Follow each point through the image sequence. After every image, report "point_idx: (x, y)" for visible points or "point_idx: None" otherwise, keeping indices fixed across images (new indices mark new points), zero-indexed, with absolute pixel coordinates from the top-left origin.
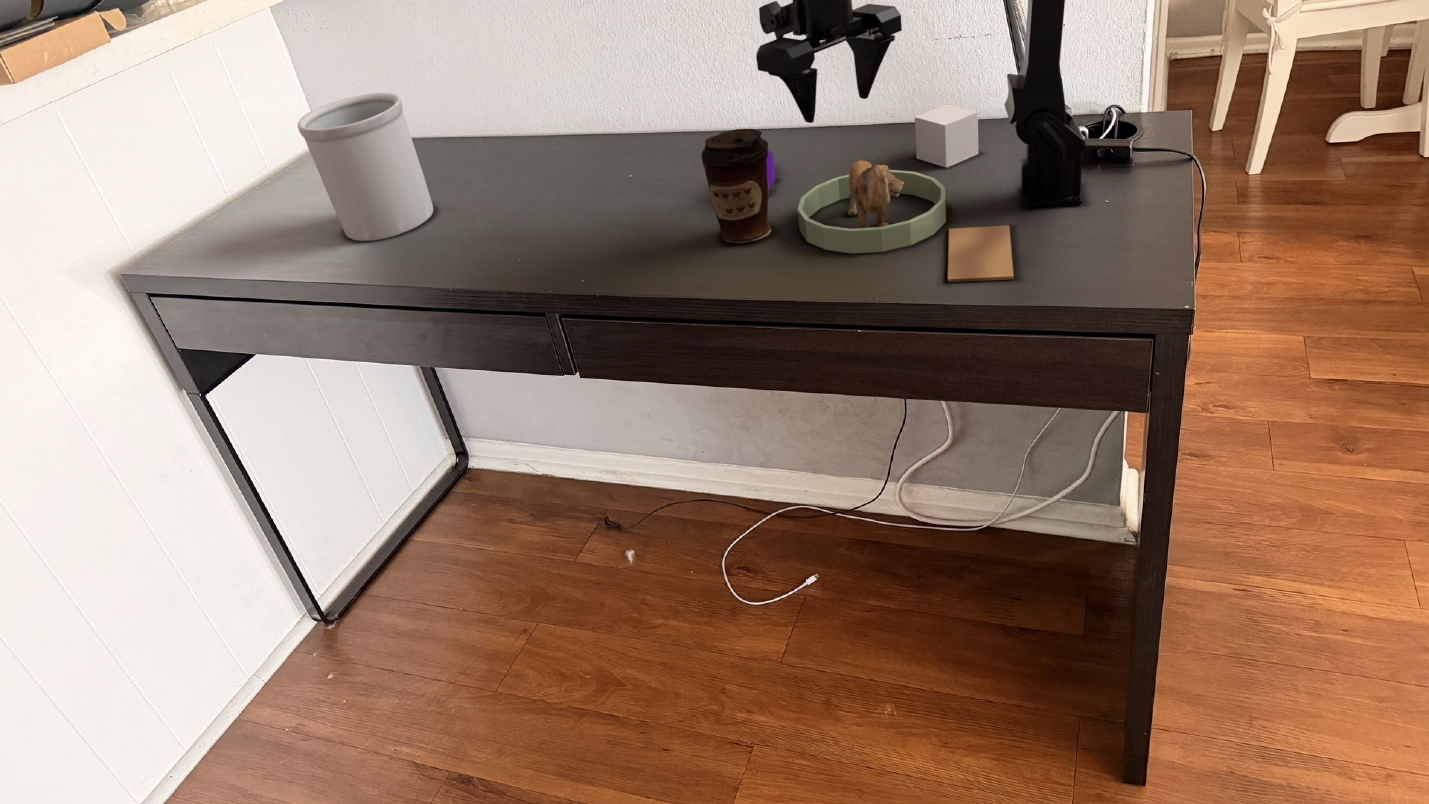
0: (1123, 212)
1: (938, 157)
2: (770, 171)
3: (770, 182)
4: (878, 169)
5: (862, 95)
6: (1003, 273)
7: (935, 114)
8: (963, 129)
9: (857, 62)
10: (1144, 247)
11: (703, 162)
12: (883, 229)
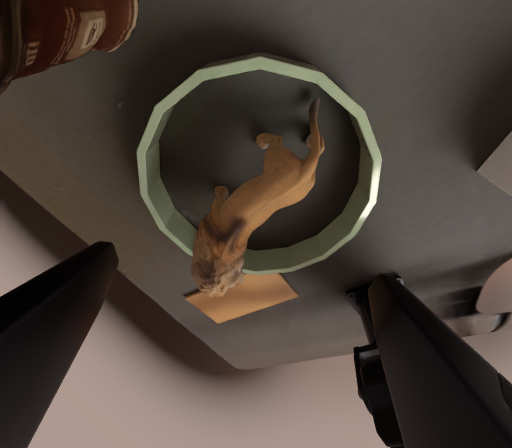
0: (353, 334)
1: (500, 161)
2: None
3: None
4: (205, 291)
5: (376, 290)
6: (217, 319)
7: None
8: None
9: (475, 430)
10: (300, 350)
11: None
12: (190, 254)
